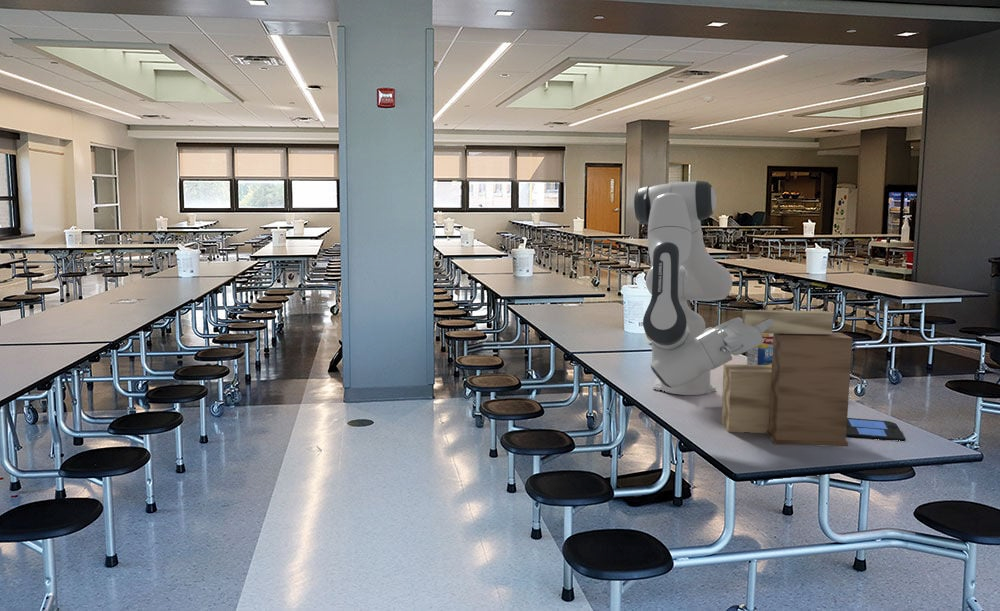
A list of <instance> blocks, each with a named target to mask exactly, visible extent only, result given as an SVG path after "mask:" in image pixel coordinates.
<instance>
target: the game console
mask: <svg viewBox="0 0 1000 611" xmlns="http://www.w3.org/2000/svg"><path fill="white" fill-rule="evenodd" d="M846 438H850V439H851V438H852V439H864V440H874V439H877V440H876V441H886V440H898V441H897V442H899V440H900V441H905V442H906V437H905V435H904V434H903V432H902V430H901V429H900V427H899V426H898V425H897V423H896V422H893V421H888V420H880V419H879V420H878V419H866V418H853V417H847V430H846ZM878 439H879V440H878Z"/></svg>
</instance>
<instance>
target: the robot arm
mask: <svg viewBox="0 0 1000 611" xmlns="http://www.w3.org/2000/svg"><path fill="white" fill-rule="evenodd" d="M716 207H717V196H716V192H715V189H714V188H713V185H712V184H710V183H709V182H708V181H705V180H697V181H674V182H669V183H668V182H667V183H663V184H656V185H652V186H650V185H647V186H643V187H640V188H638V189H637V191H635V193H634V197H633V200H632V210H633V213H634V216H635V218H636V220H637V222H638V223H641V224H643V225H646V226H647V249H648V255H649V260H650V262H651V265H652V266H651V267H650V268H649V270H648V271H647V273H646V275H645V276H646V277H645V286H646V288H647V290H648V292H649V294H651V297H650V298H651V299H650V302H649V304H648V306H647V308H646V310H645V313H644V316H643V319H642V326H643V330H644V333H645V332H646V333H645V335H646V334H647V335H648V336H649V338H650V339H651V341H650V343H651V353H652V354H651V356H652V357H651V364H650V368H651V371H652V372H653V374H654V375H655V376H656V379H655V381H654V384H653V387H652V389H653V390H654V389H656V390H655V391H660V390H662V391H661V392H664V391H665V393H668V394H673V395H681V396H683V395H684V396H698V395H699V396H700V395H704V394H708V393H711V392H712V393H713V392H716V389H717V388H716V387H715V386H714V385H712V384H711V371H712V370H715V369H717V368H719V367H721V366H724V364H727V363H728V362H730V361H732V360H733V356H739V355H742V354H744V353H746V352H747V351H749V350H751V349H753V348H755V347H757V346H759V345H761V344H762V343H763V342H764V340H763V338H762V336H761V334H762V333H763V332H764V331H765V330H766V329H767V328H769V327H771V326H773V325H774V323H773V321H772V320H771V319H770V318H767V319H765V320H763V322H761V323H760V324H758V325H755V326H752V325H750V324H748V325H745V324H744V323H743V318H741V317H739V316H738V317H734V318H732V319H730V320H728V321H725V322H722V323H720V324H718V325H716V326H714V327H712V326H711V327H707V328H706V321H705V319H704V317H703V316H701V315H700V314H699V313H698V312H696V311H694V310H692V309H691V308H690V307H689V305H688V301H700V302H713V301H722V300H724V299H726V298H727V297H728V296H729V295H730V292H731V291H732V287H733V276H732V275H731V273H730V271H729V270H728V269H727V268H726V267H725V266H723V265H721V264H720V263H718V262H717V261H716V260H715V259H714V258H713V257H712V256H711V255H710V253H709V252H708V250H707V248H706V246H705V242H704V238H703V233H702V232H703V231H702V225H701V224H702V222H701V221H702V220H706V219H709V218H710V217H712V215H713V214H714V211H715V209H716ZM732 355H733V356H732Z"/></svg>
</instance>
